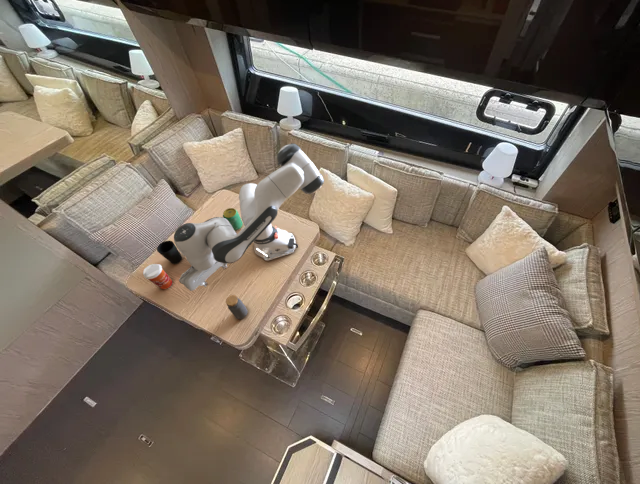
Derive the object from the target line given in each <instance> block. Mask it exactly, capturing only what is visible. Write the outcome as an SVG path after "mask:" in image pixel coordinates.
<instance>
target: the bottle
mask: <svg viewBox="0 0 640 484" xmlns="http://www.w3.org/2000/svg"><path fill="white" fill-rule="evenodd" d="M225 304H226V306H227V308H228V310H229V311H230V313H231V314H232V315H233V316H234V318H235V319H237V320H243V319H245V318H246V317H247V316H248V313H249V312H248V311H249V310H248V309H247V307H246V305H245V304H244V303H243V301H242V300H241V299H240V298H239V297H238V295H235V294H231V295H229V296H227V297H226V300H225Z"/></svg>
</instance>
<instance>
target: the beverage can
mask: <svg viewBox="0 0 640 484" xmlns="http://www.w3.org/2000/svg"><path fill="white" fill-rule="evenodd" d="M222 217H223V218H226V219H227V220H228V221H229V223H230V224H231V225H232V227H233V229H234V230H235V232H236V231H239V230H242V227H243V225H244V223H243V221H242V218H241V215H240V213H239V211H238V210H237V209H235V208H234V207H229V208H226V209H225V210H224V211H223V213H222Z"/></svg>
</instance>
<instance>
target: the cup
mask: <svg viewBox="0 0 640 484" xmlns="http://www.w3.org/2000/svg"><path fill="white" fill-rule="evenodd" d="M156 252H157V253H159V255H161V256H162V257H163V258H164V259H166V260H167V261H168V262H169V263H170V264H173V265H177V264H179V263H180V262H182V261H183V255H182V253H181V252H180V251H179V249H178V248H177V246H176V244H175V242H174V241H172V240H165V241H162V242H160V243H159V244H158V245H157V247H156Z"/></svg>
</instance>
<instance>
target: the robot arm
mask: <svg viewBox="0 0 640 484" xmlns="http://www.w3.org/2000/svg"><path fill="white" fill-rule="evenodd" d="M276 160H277V166H280V167H279V168H277V169H275V170H274V171H272V172H271V173H270V174H268V175H266V176H265V177H264V178H263V179H261V180H260V181H259V182H258V183H257V184H256V183H252V182H251V183H249V182H248V183H245V184H243V185H242V186H241V187H240V189H239V194H238V202H239V211H240V218H241V220H242V223H243V225H244V227H243V228H241V229H240V231H239V232H236V231H235V230H234V229H233V227H232V225H231V224H230V223H229V221H228V220H227V219H226V218H223V216H216V217H215V216H214V217H211V218H209V219H207V220H205V221H203V222H197V223H196V222H187V223H183V224H181V225H180V226H178V227H177V228H176V229H175V232H174V235H173V243H174V244H175V246H176V248H177V249H178V251H179V253H180V254H181V256H184V257H185V259H186V261H187V262H188V263H189V265H190V267H189V268H187V270H185V271H184V272H182V274H180V277H179V278H178V282H179V283H180V284H182V285H183V286H184V287H185V288H186V289H187V290H188V291H190V292H193V291H195V290H196V289H197V288H198V287H202V286H203V287H204V288H206V287H207V286H208V285H209V283H208V282H207V281H206V280H208V279H209V278H210V277H211V276H212V275H213V274H214V273H215V272H216V271H217V270H219V269H220V268H221V269H223V270H226V269H227V268H228V264H234V263H236V262H237V261H240V259H241V258H242V257H243V256H244V254H245V253H246V252H247V250H248V249H249V247H250V246H251V245H252V244H253V250H254V253H255V254H256V255H257V256H258V257H260V258H262V259H263V260H264V261H266V262H268V261H269V262H270V261H272V260H275V259H278V258H282V257H285V256H288V255H291V254H293V253H294V252H295V250H296V249H298V248H299V244H298V243H296V238H295V236H294V234H293V233H292V232H288V231H287V230H285V229H282V228H281V229H280V228H279V227H278V226H277V225H275V226H273V225H272V223H273V222H274V220H275V219H276V218H277V216H278V214H279V213H278V211H279V209H280V208H281V206H282V205H283V204H284V202H286V201H287V200H288V199H289V198H290V197H292V196H293V195H294V194H295V193H296V192H297V191H298V190H299V189H300V190H301V191H302V192H303V193H305V194H306V195H311V194H315V193H317V192H318V191H320V189H322V187H323V185H324V184H325V178H324V177H323V175H322V173H320V171H319V169H318V168H317V166H316V165H315V163H314V162H313V161H312V160H311V159H310V158H309V156H308V155H307V154H306V153H305V152H304V151H303V150H302V148H301V147H300V146H299V145H298V144H296V143H287V144H285V145H284V146H282V147H281V148H280V149H279V151H278V153H277V154H276Z"/></svg>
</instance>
